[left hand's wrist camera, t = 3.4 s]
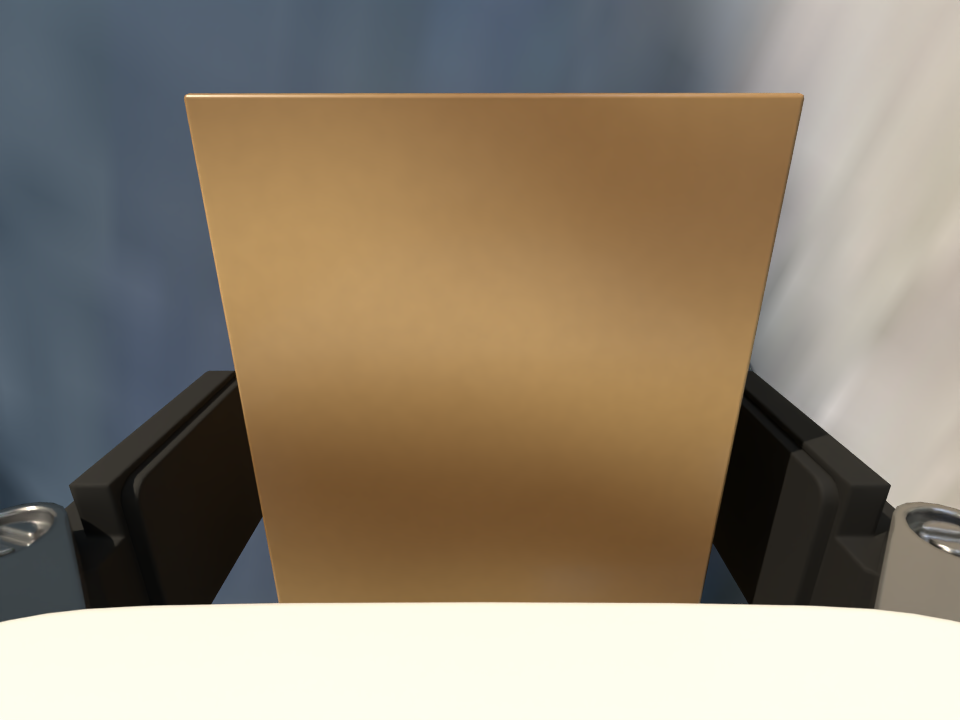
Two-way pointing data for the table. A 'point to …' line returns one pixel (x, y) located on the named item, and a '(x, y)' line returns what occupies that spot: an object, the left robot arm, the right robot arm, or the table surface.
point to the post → (492, 331)
